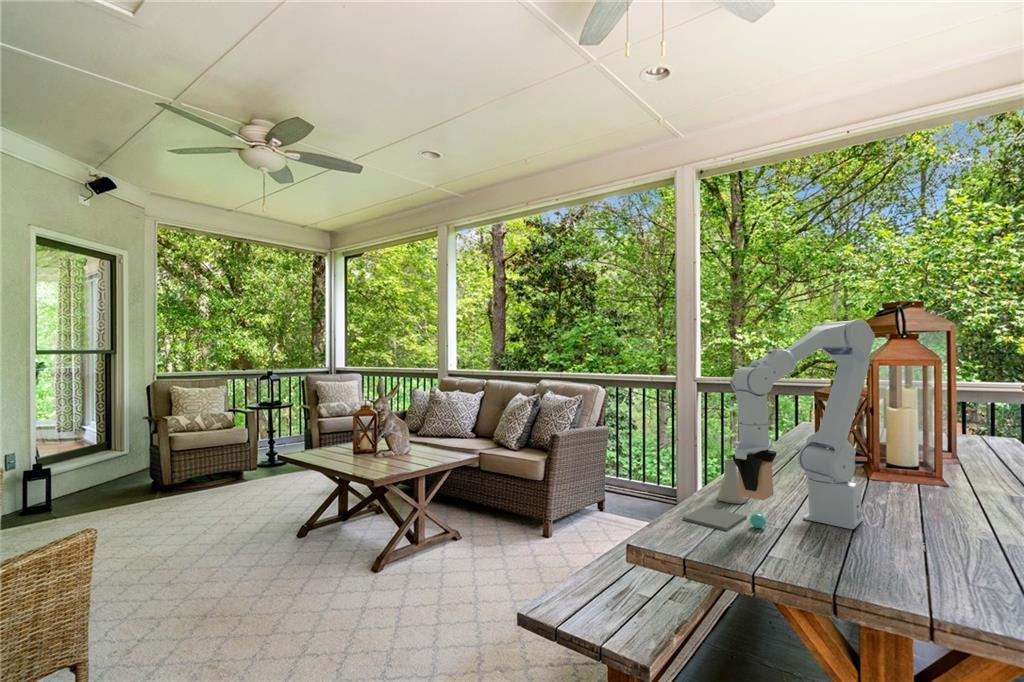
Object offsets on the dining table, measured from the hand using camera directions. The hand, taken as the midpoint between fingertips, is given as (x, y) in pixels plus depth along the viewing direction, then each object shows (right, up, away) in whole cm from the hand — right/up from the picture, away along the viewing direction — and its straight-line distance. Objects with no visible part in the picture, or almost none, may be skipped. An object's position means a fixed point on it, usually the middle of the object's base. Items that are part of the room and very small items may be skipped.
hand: (756, 487), depth 103 cm
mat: (-6, -9, +6) cm, 12 cm away
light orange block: (0, -2, 0) cm, 2 cm away
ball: (0, -9, 0) cm, 9 cm away
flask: (+4, -9, +19) cm, 21 cm away
